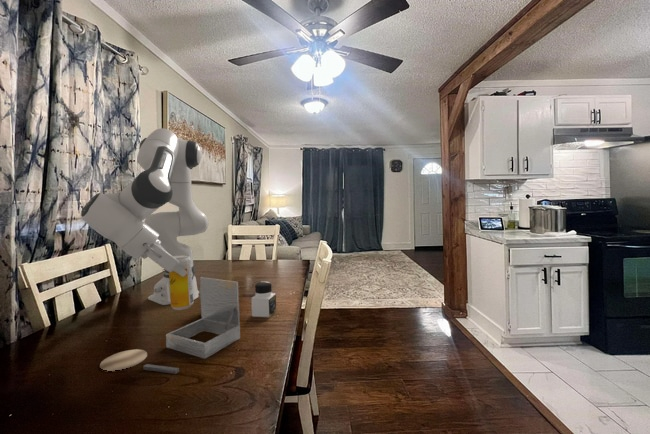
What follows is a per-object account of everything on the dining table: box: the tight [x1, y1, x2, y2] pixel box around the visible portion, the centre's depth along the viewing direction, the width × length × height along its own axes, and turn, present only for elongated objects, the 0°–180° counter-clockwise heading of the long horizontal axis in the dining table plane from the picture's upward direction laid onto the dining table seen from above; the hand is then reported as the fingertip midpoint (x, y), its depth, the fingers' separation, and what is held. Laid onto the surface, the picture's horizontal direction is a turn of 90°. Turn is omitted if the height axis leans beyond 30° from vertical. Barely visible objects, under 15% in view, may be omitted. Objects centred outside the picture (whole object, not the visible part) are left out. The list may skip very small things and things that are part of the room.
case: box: [165, 276, 241, 359], centre depth 96 cm, size 16×14×18 cm
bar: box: [142, 363, 180, 375], centre depth 81 cm, size 10×1×1 cm, turn 76°
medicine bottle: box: [250, 281, 277, 318], centre depth 119 cm, size 7×7×12 cm
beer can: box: [169, 255, 194, 311], centre depth 92 cm, size 6×6×15 cm
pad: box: [99, 348, 148, 372], centre depth 86 cm, size 11×11×1 cm
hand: (182, 272), depth 92 cm, fingers closed on beer can, 6 cm apart
